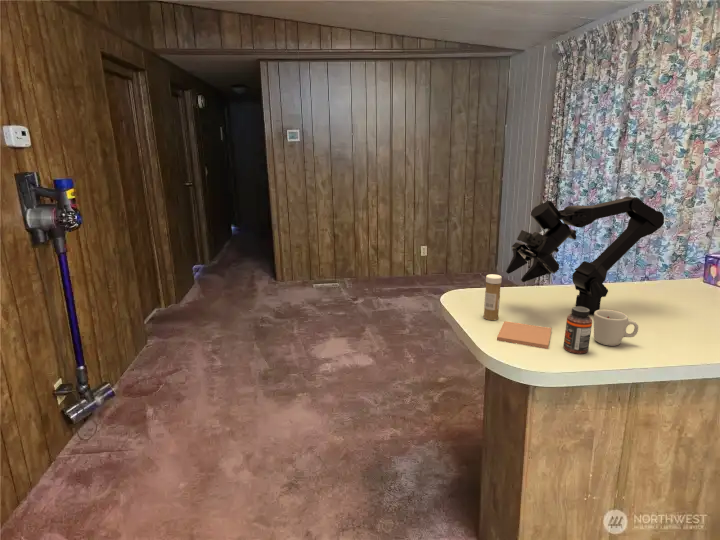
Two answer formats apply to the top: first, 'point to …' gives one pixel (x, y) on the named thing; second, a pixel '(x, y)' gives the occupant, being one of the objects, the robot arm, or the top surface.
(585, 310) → the supplement bottle
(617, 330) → the cup
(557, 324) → the top surface
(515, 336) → the terracotta tile
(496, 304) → the sprinkles bottle
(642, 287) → the top surface
